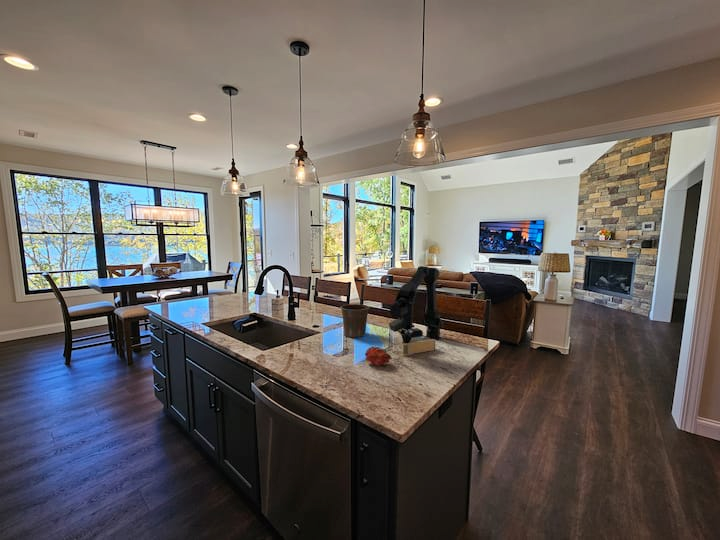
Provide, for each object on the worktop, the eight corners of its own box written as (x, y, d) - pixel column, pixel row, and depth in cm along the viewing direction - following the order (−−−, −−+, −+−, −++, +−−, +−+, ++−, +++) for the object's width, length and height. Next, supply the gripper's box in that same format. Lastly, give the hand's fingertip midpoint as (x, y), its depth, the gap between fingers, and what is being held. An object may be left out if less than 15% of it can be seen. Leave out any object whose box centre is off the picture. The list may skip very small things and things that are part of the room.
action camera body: (423, 344, 153) (423, 334, 152) (432, 349, 145) (433, 338, 145) (401, 348, 147) (401, 337, 147) (410, 353, 140) (410, 342, 139)
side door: (434, 349, 145) (434, 338, 145) (435, 349, 144) (436, 339, 144) (401, 354, 138) (402, 343, 137) (403, 355, 137) (403, 344, 136)
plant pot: (343, 329, 177) (343, 303, 176) (370, 331, 175) (370, 304, 174) (337, 338, 161) (337, 309, 160) (367, 339, 159) (367, 310, 158)
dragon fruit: (363, 365, 130) (389, 373, 126) (359, 360, 123) (386, 368, 119) (369, 346, 134) (394, 354, 130) (366, 340, 127) (392, 348, 123)
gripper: (382, 311, 143) (381, 342, 145) (402, 320, 126) (401, 355, 128) (401, 309, 148) (400, 339, 149) (424, 317, 131) (423, 352, 132)
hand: (405, 346), depth 140 cm, fingers closed
